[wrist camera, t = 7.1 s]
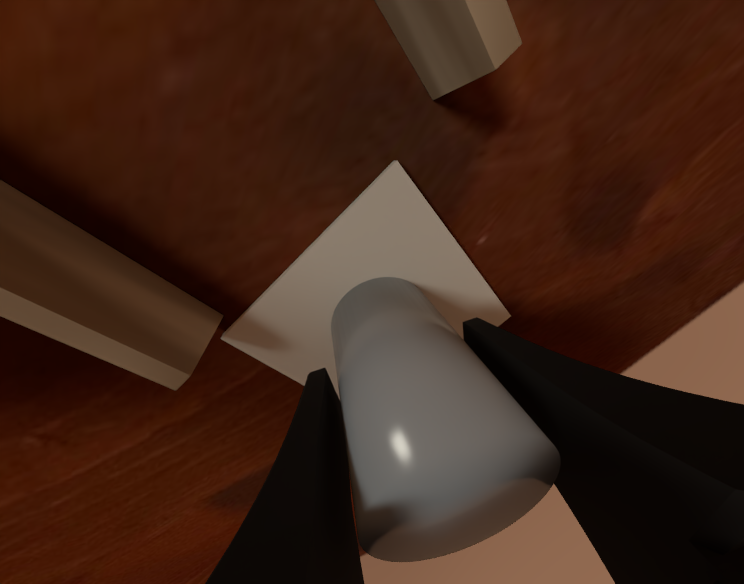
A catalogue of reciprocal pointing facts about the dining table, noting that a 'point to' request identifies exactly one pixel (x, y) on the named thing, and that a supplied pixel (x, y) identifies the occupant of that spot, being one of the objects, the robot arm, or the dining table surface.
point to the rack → (154, 294)
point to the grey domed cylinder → (428, 429)
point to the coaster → (362, 278)
